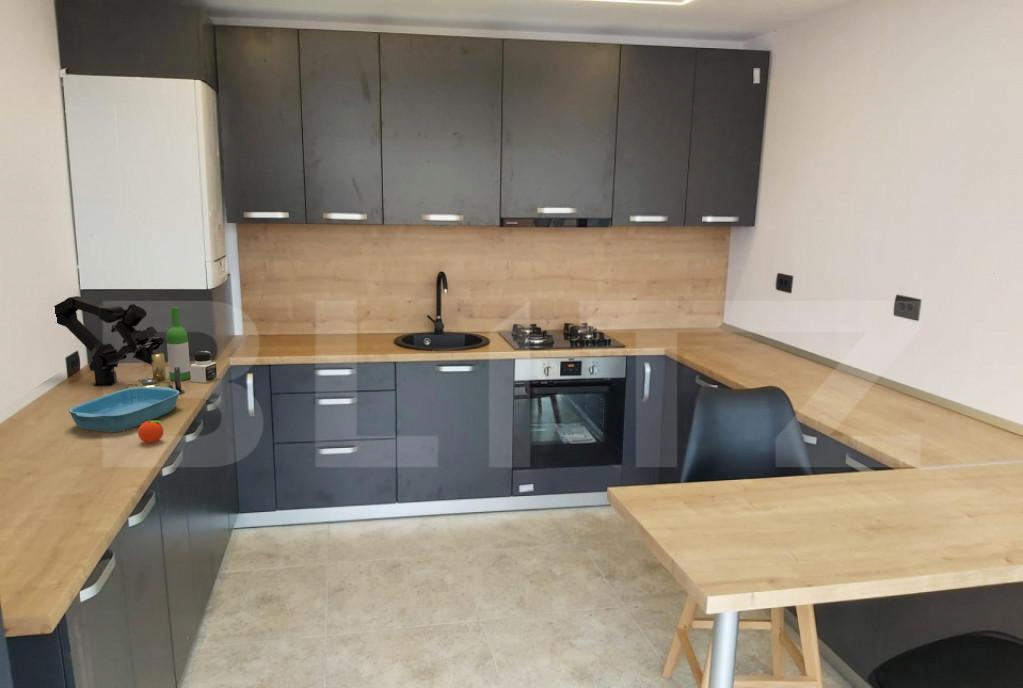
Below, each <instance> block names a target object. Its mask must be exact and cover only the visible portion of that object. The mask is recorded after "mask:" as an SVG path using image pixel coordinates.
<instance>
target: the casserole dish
mask: <svg viewBox="0 0 1023 688" xmlns="http://www.w3.org/2000/svg"><path fill="white" fill-rule="evenodd" d="M127 388H128V387H127ZM127 388H125V389H122V390H118V391H114V392H112V393H108V394H106V395H102V396H100V397H97V398H94V399H90V400H89V401H85V402H83V403H80V404H77V405H75V406H73V407H71V408H70V409H69V414H70V416H71V417H72V419H73V422H74V423H75V424H76V426H78V428H81V429H83V430H85V431H92V430H93V431H94V432H103V433H119V432H118V431H121V432H124V431H123V430H125V431H127V429H128V430H131V429H133V428H132V427H134V428H136V427H138V425H139V426H141V425H142V423H144V422H146V421H149V420H150V421H153V420H155V419H157V418H159V416H160V417H162V416H164V415H165V414H168V413H170V412H172V410H174V408H175V407H176V404H177V402H178V401H177V400H178V398H179V395H180V394H179V391H178V390H176V389H175V388H173V389H171V388H168V387H134V388H128V389H127ZM161 415H162V416H161ZM154 418H155V419H154ZM152 419H153V420H152ZM140 424H141V425H140ZM135 426H136V427H135ZM130 428H131V429H130Z"/></svg>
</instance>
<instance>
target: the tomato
mask: <svg viewBox="0 0 1023 688" xmlns="http://www.w3.org/2000/svg"><path fill="white" fill-rule="evenodd" d="M162 424H163V425H165V423H164V422H163V421H159V420H150V421H146V422H144V423H143V424H141V425H139V428H138V432H137V434H138V438H139V439H140V441H142V442H143V443H146V444H153V443H152V442H154V443H156V442H159V441H160V440H161V439H162V437H163V435H164V427H163V426H162ZM165 426H166V427H168V425H165Z"/></svg>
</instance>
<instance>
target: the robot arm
mask: <svg viewBox="0 0 1023 688" xmlns="http://www.w3.org/2000/svg"><path fill="white" fill-rule="evenodd" d="M53 306H54V307H55V314H56V317H57V323H58V325H59V326H63V327H65V328H67V330H69V331H70V333H72V334H73V335H74V337H75V338H76V339H78V341H80V342H81V343H82V344H83V345H84V347H86V348H87V349H88V350H89V352H90V355H91V359H92V360H91V363H90V364H89V365H88V367H89V370H90V371H92V372H94V384H93V386H96V387H97V386H98V387H99V386H100V387H101V386H103V387H105V386H106V387H107V386H109V387H110V386H113V385H115V384H116V383H117V382H118V379H117V371H115V368H117V367H118V365H119V362H120V361H123V360H126V359H127V356H128V354H133V355H132V359H136V360H139V361H142V362H144V363H146V364H149V365H150V366H152V361H151V354H153V353H154V351H158V349H160V348H161V346H162V345H163V344H164V343H165V342H166V341H165V339H164V338H163V337H162V336H157V337H155V336H156V335H157V332H158V331H157V329H156V328H155V327H154V326H152V325H151V326H149V327H146V329H143V330H140V329H139V330H137V328H136V327H138V326H139V325H140V324H141V322H142V321H143V320H144V319H145V318H146V317H147V315H148V314H147V312H146V310H145V309H144V308H142V307H140V306H139V305H138V306H137V305H136V304H135V303H131V304H129V305H128V307H127V308H126V309H124V308H123V307H122V306H120V305H114V304H113V305H108V304H107V305H106V304H105V305H104V304H102V303H98V302H95V301H92V300H89V299H86V298H83V297H81V296H79V295H76V296H70V297H67V298H66V299H64V300H63V301H60V302H59V303H57V304H55V305H53ZM78 311H82V312H85V313H89V314H91V315H94V316H97V317H98V318H99V320H101V321H103V322H105V323H106V324H111V323H115V324H112V325H111V329H110V330H111V331H110V332H111V333H116V332H117V333H118V334H119V335H120V336H121V338H122V339H123V340H122V343H123V344H126V345H122V346H121V347H120V348H119V350H118V349H116V348H115V347H114V346H113V344H111V343H107V344H104V343H102V342H101V341H100V340H99V339H98V338H97V337H96V336H95V335H94V334H93V333H92V332H91V331H90V330H89V329H88V328H87V327H86V326H85V325H84V324H83V323H82V322H81V321H80V320H79V319H78V313H77V312H78ZM57 323H56V324H57ZM152 337H153V338H152ZM150 338H152V339H150Z"/></svg>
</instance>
